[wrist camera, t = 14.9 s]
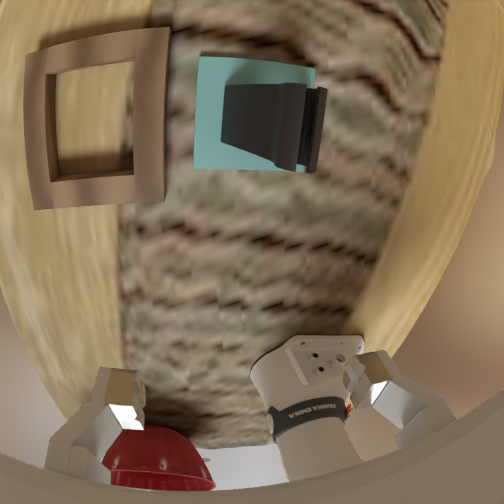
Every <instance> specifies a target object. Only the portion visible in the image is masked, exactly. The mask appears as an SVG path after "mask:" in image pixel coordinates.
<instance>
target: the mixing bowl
mask: <svg viewBox="0 0 504 504" xmlns="http://www.w3.org/2000/svg"><path fill="white" fill-rule="evenodd" d="M102 464H103V465H104V466H105V467H106V468H107V469H108V470H109V471H110V472H111V485H116V486H123V487H131V488H140V489H150V490H165V491H210V490H212V489H214V488H215V487H216V484H215V483H214V482H213V480H212V477H211V475H210V473H209V471H208V469H207V467H206V465H205V463H204V461H203V459H202V458H201V456H200V455H199V453H198V452H197V450H196V449H195V447H194V446H193V445H192V443H191V442H190V441H189V440H188V439H187V438H186V437H184V436H183V435H181V434H179V433H178V432H176V431H174V430H172V429H170V428H166V427H163V426H157V425H144V430H135V429H126V430H124V431H123V432H121V433H120V434H119V436H118V437H117V438H116V440H115V441H114V442H113V444H112V445H111V446H110V448H109V449H108V450H107V452H106V454H105V456H104V458H103V460H102Z"/></svg>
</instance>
